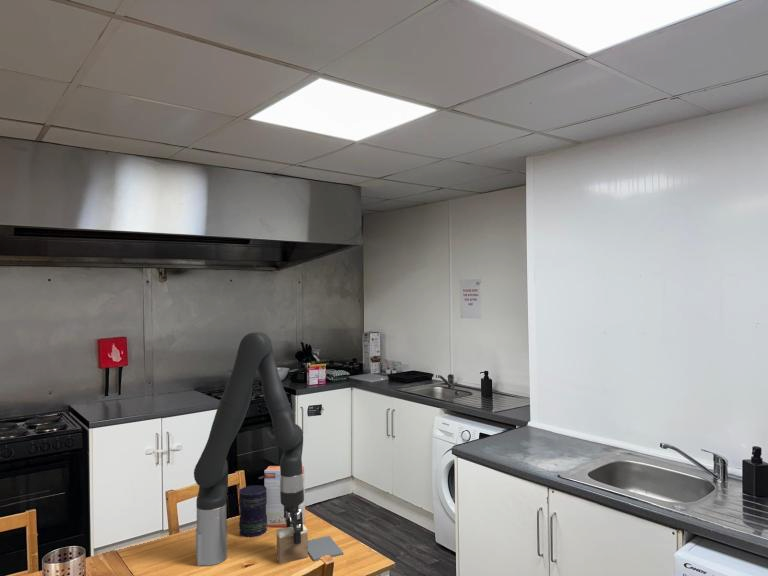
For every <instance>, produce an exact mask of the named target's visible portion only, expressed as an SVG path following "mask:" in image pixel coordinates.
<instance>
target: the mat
mask: <svg viewBox="0 0 768 576" xmlns="http://www.w3.org/2000/svg"><path fill="white" fill-rule="evenodd" d="M325 555H330V556H331V557H330V558H333V557H338V556H342V555H344V551H342V549H341V548H340V546H339V545H338V544H337V543H336V542H335V540H333V538H332V537H331V535H327V536H322V537H318V538H313V539H308V556H310V558H311V560H312V561H313V562H316V561H320V560H319V559H320V558H321V557H322V556H325Z"/></svg>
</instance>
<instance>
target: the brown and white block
mask: <svg viewBox="0 0 768 576" xmlns="http://www.w3.org/2000/svg"><path fill="white" fill-rule="evenodd" d="M297 528H299V526H298V525H297ZM308 535H309V534H308V528H307V527H306V525H305V523H304V524H303V531H302V532H301V543H300V544H296V545H295V544H294V538H293V528H292V527H281V528H277V529H276V560H277V561H278V562H279V564H280V565H282V564H286V563H290V562H295V561H299V560H304V559H308V558H309V554H308V540H309V539H308Z"/></svg>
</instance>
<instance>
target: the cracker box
mask: <svg viewBox="0 0 768 576" xmlns="http://www.w3.org/2000/svg"><path fill="white" fill-rule="evenodd" d="M263 473H264V480H263V481H264V482H263V483H264V485H263V486H265V487H266V489H267V491H266V492H267V504H266V514H267V528H268V527H269V528H270V527H271V528H287V527H286V521H285V519H286V518H284V505H282V504H281V499H280V465H269V466H267V468H266V469H264V472H263ZM302 475H303V484H304V501H303V503H301V504H300V505H299V506H298V507H299V508H300V512H302V519H303V524H304V525H305V522H306V491H305V490H306V489H305V488H306V487H305V485H306V484H305V466H304V465H302ZM293 522H294V521H293Z"/></svg>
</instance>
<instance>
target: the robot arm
mask: <svg viewBox="0 0 768 576" xmlns="http://www.w3.org/2000/svg"><path fill="white" fill-rule="evenodd" d="M236 353H237V354H236V356H235V360H234V366H233V369H232V370H231V374H230V376H229V378H228V380H227V383H226V386H225V388H224V390H223V393H222V396H221V398H220V400H219V403H218V406H217V409H216V412H215V414H214V415H215V416H214V417H213V422H212V425H211V428H210V432H209V435H208V438H207V441H206V444H205V446H204V448H203V451H202V452H201V455H200V457H199V459H198V461H197V463H196V464H195V467H194V468H193V469H194V470H193V477H194V481H195V484H196V485H198V492H197V497H196V504H195V505H196V528H195V559H196V564H197V566H198V567H200V566H208V567H209V566H213V565H217V564H220V563H222V562H224V561H225V560H226V559H228V558H227V557H228V547H227V546H228V544H227V543H228V542H227V541H228V538H227V537H228V532H227V531H228V530H227V523H228V522H227V515H228V514H227V499H228V498H227V496H228V492H229V491H228V490H229V465H228V460H227V456H228V454H229V450H230V447H231V446H232V443H233V442H234V440H235V438H236V437H237V434H238V432H239V431H240V429H241V427H242V425H243V423H244V420H245V418H246V416H247V413H248V410H249V407H250V404H251V400H252V394H253V384H254V379H255V376H256V373H257V372H258V374H259V377H260V383H261V389H262V394H263V399H264V401H265V404H266V407H267V412H269V413H268V414H269V415H270V418H271V423H272V430H273V434H274V438H275V441H276V443H277V445H278V446H279V448H280V449H282V455H281V457H280V461H279V466H280V499H281V504H282V505H284V518H286V519H285V521H286V527H285V528H287V527H292V528H293V538H294V544H295V545H296V544H300V543H301V532H302V531H303V519H302V512H300V508H299V507H298V506H299V505H300V504H301V503H303V501H304V484H303V475H302V466H303V461H302V456H303V451H304V450H303V447H304V432H303V430H302V428H301V426H300V425H298V424H296V423H293V420H292V415H293V414H292V413H293V410H292V406H291V404H290V402H289V399H288V396H287V393H286V390H285V389H284V388H285V387H284V385H283V383H282V380H281V377H280V375H279V371H278V368H277V363H276V359H275V355H274V350H273V344H272V341H271V338H270V337H269V336H268V334H267V333H264V332H259V331H257V332H256V331H255V332H254V331H253V332H250V333H247V334H245V335H244V336H243V337H242V338H241V340H240V342H239V345H238V349H237V352H236ZM293 521H294V522H293ZM297 525H298V526H299V528H297Z"/></svg>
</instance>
